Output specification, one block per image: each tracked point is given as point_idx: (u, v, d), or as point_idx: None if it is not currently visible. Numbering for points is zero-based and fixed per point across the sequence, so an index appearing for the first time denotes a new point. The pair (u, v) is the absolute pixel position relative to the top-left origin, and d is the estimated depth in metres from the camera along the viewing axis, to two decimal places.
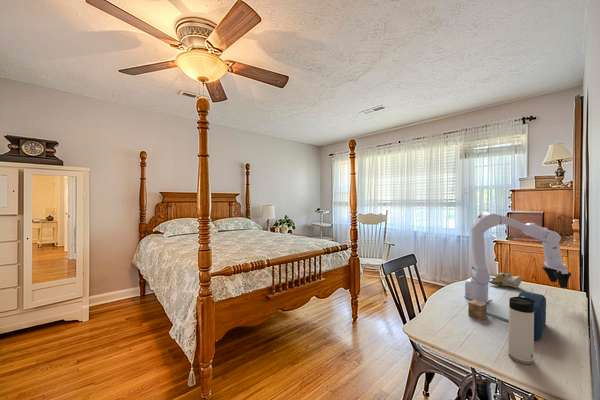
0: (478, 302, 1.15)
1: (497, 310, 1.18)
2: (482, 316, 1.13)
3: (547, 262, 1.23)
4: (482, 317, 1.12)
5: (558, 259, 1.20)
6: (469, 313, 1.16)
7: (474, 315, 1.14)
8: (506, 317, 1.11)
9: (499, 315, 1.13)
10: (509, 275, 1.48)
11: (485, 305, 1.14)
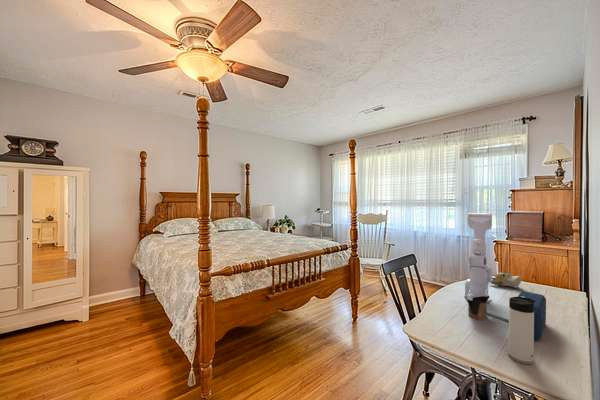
0: None
1: (497, 310, 1.18)
2: (482, 316, 1.13)
3: None
4: (482, 317, 1.12)
5: (476, 285, 1.13)
6: (469, 313, 1.16)
7: (474, 315, 1.14)
8: (506, 317, 1.11)
9: (499, 315, 1.13)
10: (509, 275, 1.48)
11: (485, 305, 1.14)
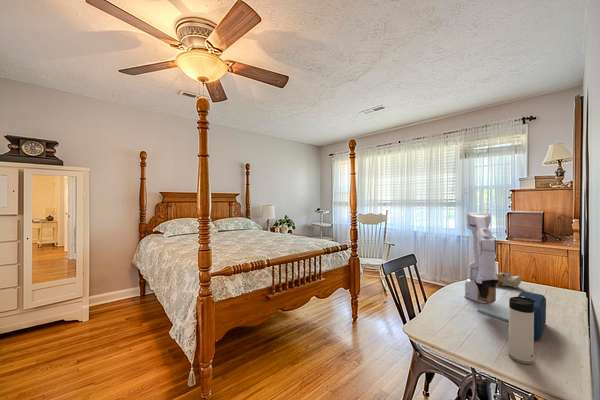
0: None
1: (497, 310, 1.18)
2: (491, 300, 1.14)
3: None
4: (491, 301, 1.14)
5: (485, 269, 1.14)
6: (478, 297, 1.17)
7: (483, 299, 1.15)
8: (506, 317, 1.11)
9: (499, 315, 1.13)
10: (509, 275, 1.48)
11: (494, 289, 1.15)
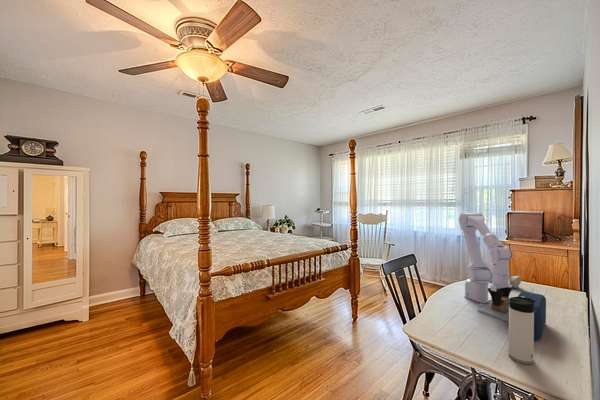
0: None
1: None
2: (505, 310, 1.16)
3: None
4: (505, 311, 1.15)
5: (499, 277, 1.16)
6: (492, 307, 1.19)
7: (497, 309, 1.17)
8: (506, 317, 1.11)
9: (499, 315, 1.13)
10: (509, 275, 1.48)
11: (508, 299, 1.17)
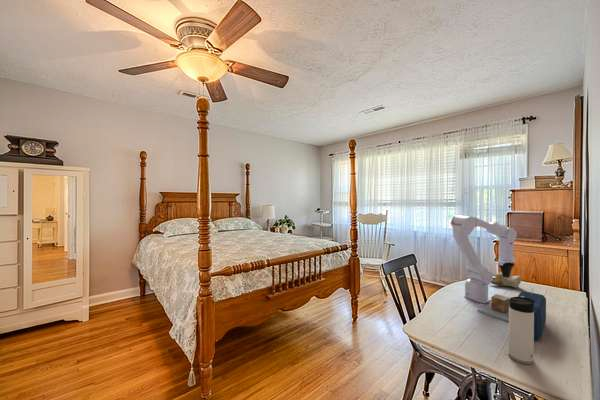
0: (501, 296, 1.18)
1: None
2: (505, 310, 1.16)
3: None
4: (505, 311, 1.15)
5: (505, 253, 1.32)
6: (492, 307, 1.19)
7: (497, 309, 1.17)
8: (506, 317, 1.11)
9: (499, 315, 1.13)
10: None
11: (508, 299, 1.17)
